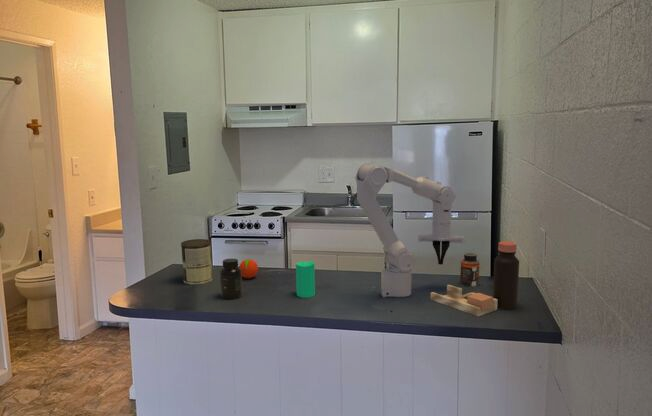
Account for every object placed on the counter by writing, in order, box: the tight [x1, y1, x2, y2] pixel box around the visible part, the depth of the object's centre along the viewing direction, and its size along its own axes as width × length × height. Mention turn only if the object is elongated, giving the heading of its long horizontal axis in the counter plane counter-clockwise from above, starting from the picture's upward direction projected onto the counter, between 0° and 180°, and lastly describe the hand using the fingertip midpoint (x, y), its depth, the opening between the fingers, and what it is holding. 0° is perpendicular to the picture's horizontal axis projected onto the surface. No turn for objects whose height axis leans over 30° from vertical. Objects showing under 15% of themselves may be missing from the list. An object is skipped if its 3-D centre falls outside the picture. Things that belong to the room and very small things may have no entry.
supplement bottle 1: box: [219, 258, 243, 300], centre depth 160 cm, size 7×7×12 cm
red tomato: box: [238, 258, 259, 279], centre depth 179 cm, size 8×7×7 cm
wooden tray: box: [430, 284, 498, 317], centre depth 149 cm, size 18×16×4 cm
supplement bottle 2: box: [459, 252, 480, 287], centre depth 166 cm, size 6×6×11 cm
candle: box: [295, 260, 316, 299], centre depth 160 cm, size 6×6×12 cm
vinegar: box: [492, 240, 520, 311], centre depth 144 cm, size 7×7×20 cm
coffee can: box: [180, 238, 213, 285], centre depth 177 cm, size 10×10×14 cm
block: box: [466, 292, 493, 310], centre depth 142 cm, size 5×5×4 cm
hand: (440, 263), depth 161 cm, fingers closed
